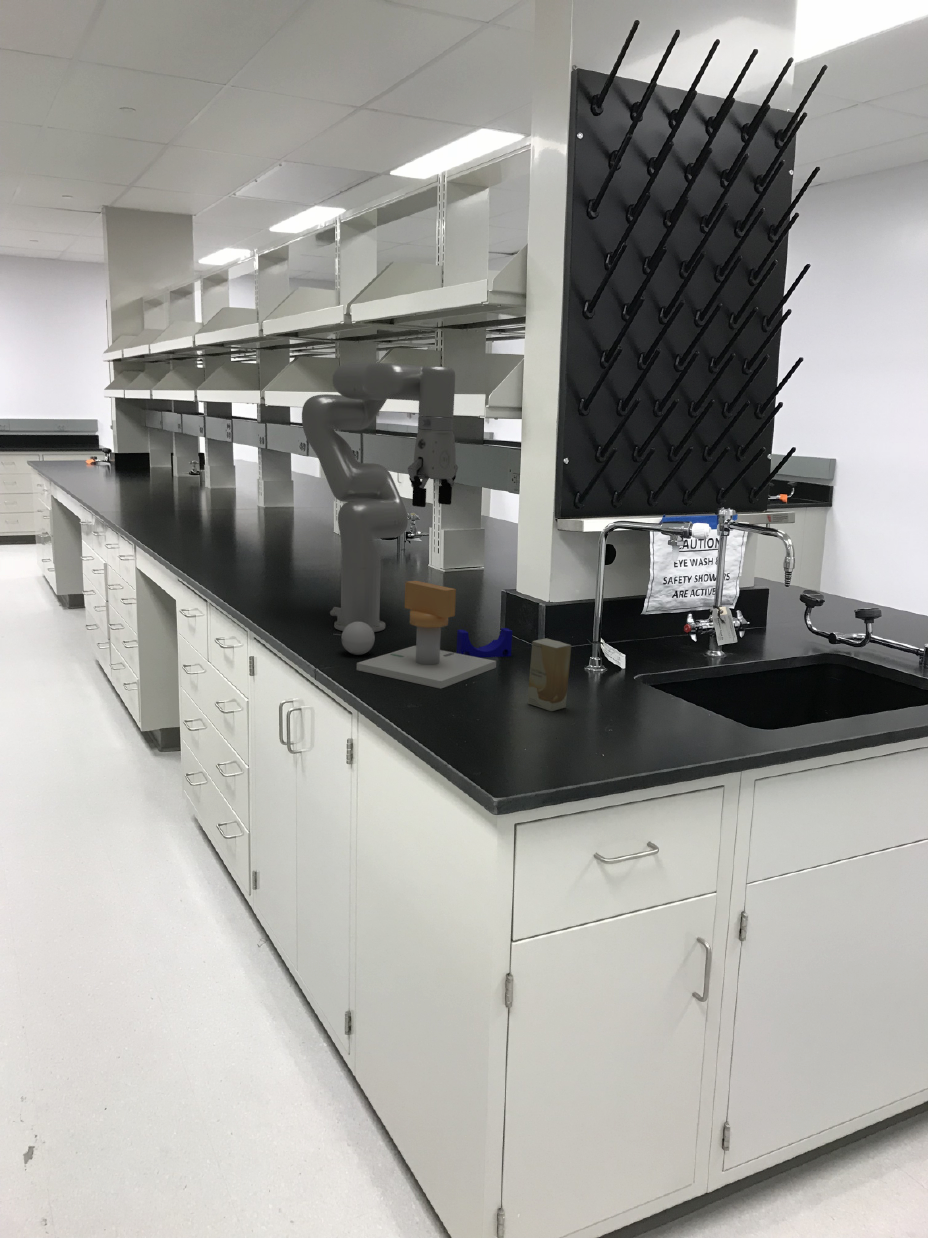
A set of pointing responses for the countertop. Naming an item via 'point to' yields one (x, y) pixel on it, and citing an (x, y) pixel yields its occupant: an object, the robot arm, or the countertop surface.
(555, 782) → the countertop surface
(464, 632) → the cable clip
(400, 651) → the coupling base
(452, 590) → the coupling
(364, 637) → the white ball
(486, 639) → the countertop surface
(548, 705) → the skincare box
